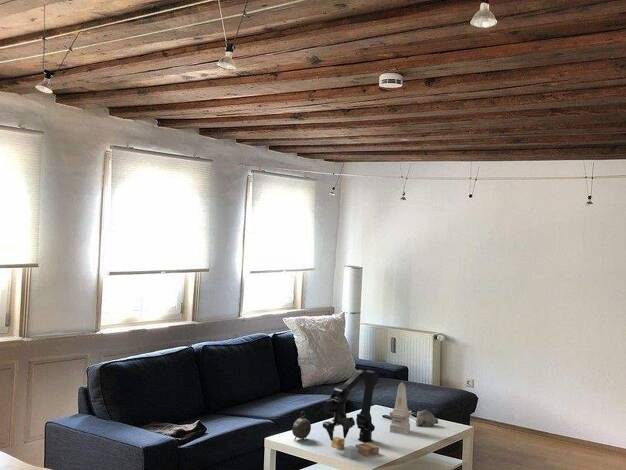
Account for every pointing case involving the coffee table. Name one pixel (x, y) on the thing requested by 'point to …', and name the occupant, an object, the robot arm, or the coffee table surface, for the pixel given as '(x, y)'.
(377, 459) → the coffee table surface
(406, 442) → the coffee table surface
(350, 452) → the grey cube
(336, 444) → the oak cube
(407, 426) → the miniature monument
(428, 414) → the mineral rock
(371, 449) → the walnut block
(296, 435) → the alarm clock
